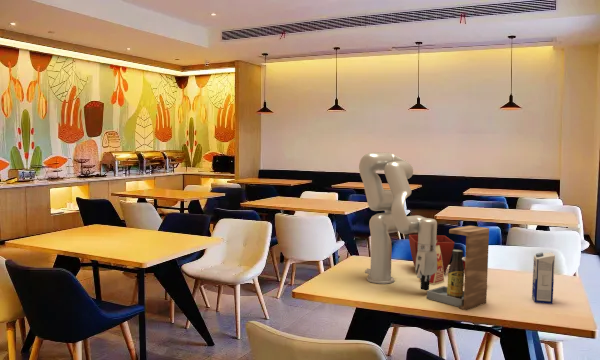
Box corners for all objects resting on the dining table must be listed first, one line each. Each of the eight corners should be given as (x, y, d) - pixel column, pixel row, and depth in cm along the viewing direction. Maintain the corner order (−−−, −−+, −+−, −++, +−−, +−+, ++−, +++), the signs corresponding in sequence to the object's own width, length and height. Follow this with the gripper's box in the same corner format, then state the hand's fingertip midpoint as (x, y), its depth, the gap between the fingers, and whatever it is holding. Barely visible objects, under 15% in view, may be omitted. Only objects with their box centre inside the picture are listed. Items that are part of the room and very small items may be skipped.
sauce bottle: (450, 300, 209) (451, 252, 208) (444, 296, 215) (445, 248, 214) (465, 300, 209) (467, 252, 208) (459, 296, 216) (461, 248, 214)
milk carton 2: (552, 304, 210) (555, 255, 208) (534, 302, 211) (536, 254, 210) (549, 299, 216) (551, 251, 215) (531, 297, 218) (533, 250, 217)
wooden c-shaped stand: (446, 305, 206) (449, 229, 204) (467, 298, 216) (469, 225, 214) (466, 310, 200) (469, 232, 198) (486, 302, 210) (489, 228, 208)
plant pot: (453, 276, 253) (455, 242, 252) (414, 275, 253) (415, 241, 252) (444, 267, 272) (445, 235, 271) (407, 266, 272) (408, 234, 271)
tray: (426, 298, 215) (426, 291, 215) (442, 292, 223) (443, 286, 223) (461, 307, 203) (461, 299, 203) (477, 301, 211) (477, 294, 211)
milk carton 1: (444, 281, 242) (445, 239, 241) (434, 285, 236) (436, 241, 234) (426, 278, 249) (428, 236, 247) (416, 281, 242) (418, 239, 241)
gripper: (423, 251, 213) (421, 294, 215) (444, 246, 223) (442, 288, 225) (408, 248, 219) (406, 290, 221) (429, 243, 229) (427, 284, 231)
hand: (424, 289), depth 223 cm, fingers closed
